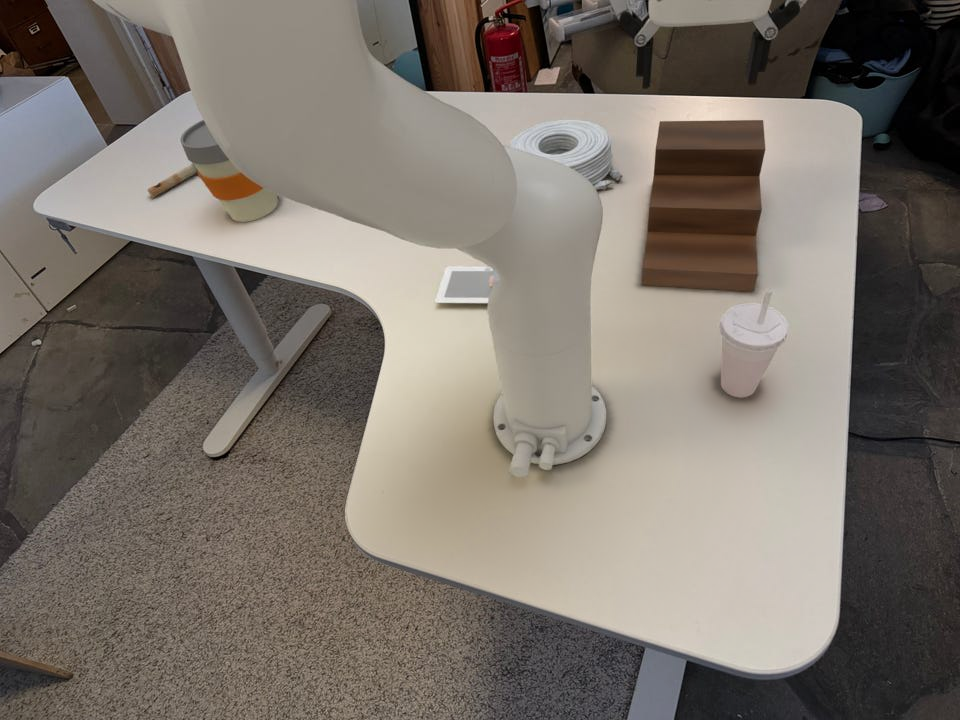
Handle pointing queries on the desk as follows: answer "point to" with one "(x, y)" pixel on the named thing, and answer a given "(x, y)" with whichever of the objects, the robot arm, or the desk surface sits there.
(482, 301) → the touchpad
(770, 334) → the smoothie
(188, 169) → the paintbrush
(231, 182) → the reusable coffee cup
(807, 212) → the desk surface
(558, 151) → the cable
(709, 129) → the tier shelf
